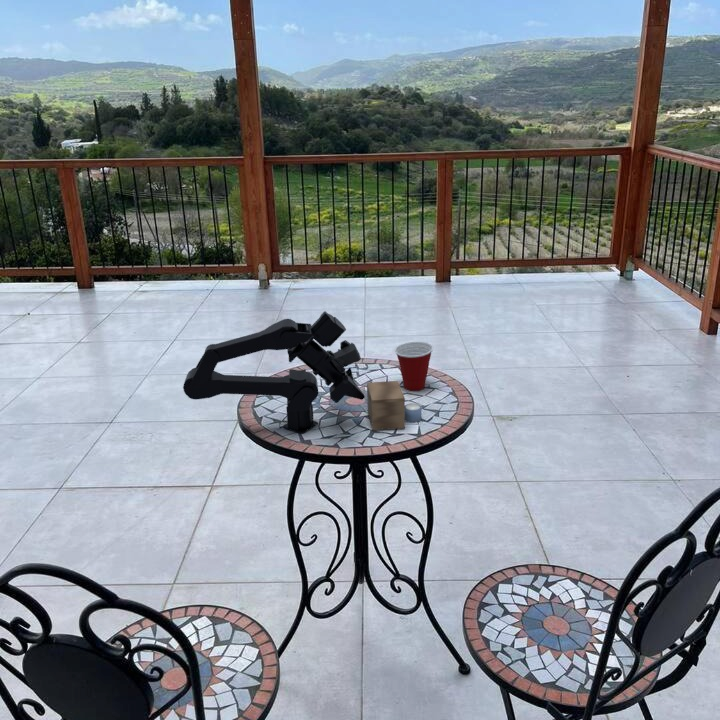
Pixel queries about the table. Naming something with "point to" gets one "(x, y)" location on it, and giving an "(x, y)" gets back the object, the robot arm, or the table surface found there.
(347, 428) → the table surface
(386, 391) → the brown box
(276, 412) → the table surface
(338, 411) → the table surface
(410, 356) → the plastic cup
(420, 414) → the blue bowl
